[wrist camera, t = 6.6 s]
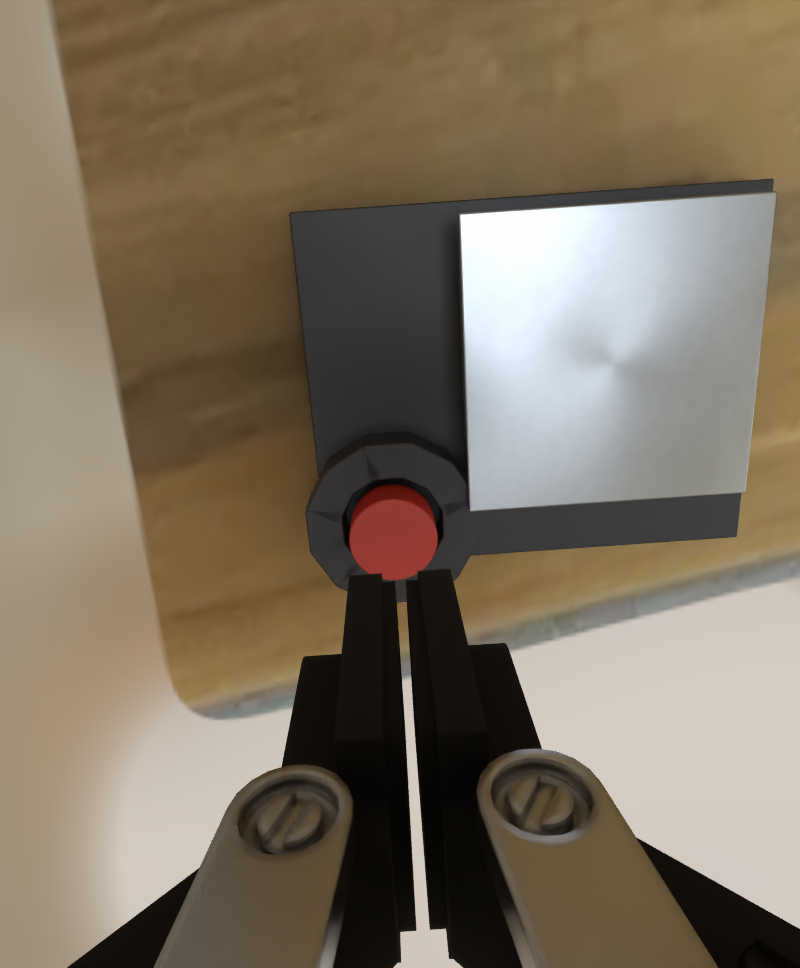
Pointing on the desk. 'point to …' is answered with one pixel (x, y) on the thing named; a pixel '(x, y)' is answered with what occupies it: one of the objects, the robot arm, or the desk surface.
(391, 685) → the robot arm
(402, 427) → the scale
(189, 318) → the desk surface
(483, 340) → the pan
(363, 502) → the tare button
